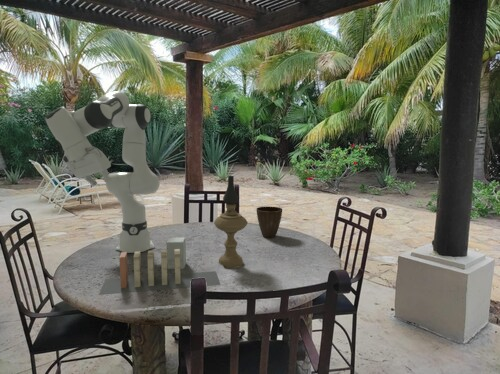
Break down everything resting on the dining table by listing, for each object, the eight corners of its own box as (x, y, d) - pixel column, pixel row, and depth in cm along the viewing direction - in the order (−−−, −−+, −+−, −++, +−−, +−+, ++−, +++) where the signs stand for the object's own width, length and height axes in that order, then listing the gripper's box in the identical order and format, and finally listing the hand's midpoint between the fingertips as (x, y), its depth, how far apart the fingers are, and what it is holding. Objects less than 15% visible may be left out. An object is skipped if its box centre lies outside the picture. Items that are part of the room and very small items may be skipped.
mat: (105, 281, 144) (105, 279, 144) (215, 273, 154) (215, 271, 154) (98, 296, 131) (98, 294, 131) (220, 286, 140) (220, 284, 140)
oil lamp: (217, 271, 156) (216, 178, 150) (211, 259, 170) (210, 174, 164) (251, 267, 160) (252, 177, 154) (242, 256, 174) (243, 173, 168)
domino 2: (136, 280, 143) (134, 251, 141) (141, 280, 143) (140, 251, 141) (134, 287, 137) (133, 256, 135) (140, 286, 137) (139, 256, 136)
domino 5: (175, 278, 146) (174, 249, 144) (180, 277, 146) (179, 248, 145) (175, 284, 140) (174, 254, 138) (180, 283, 141) (180, 253, 139)
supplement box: (186, 264, 164) (186, 237, 162) (184, 270, 156) (183, 242, 154) (170, 264, 163) (169, 237, 162) (166, 270, 156) (166, 242, 154)
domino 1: (122, 281, 142) (121, 252, 140) (128, 281, 142) (126, 252, 140) (120, 288, 136) (119, 257, 134) (126, 287, 136) (125, 257, 135)
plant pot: (251, 234, 213) (252, 207, 211) (274, 231, 220) (274, 205, 217) (263, 241, 200) (263, 212, 198) (286, 237, 206) (287, 210, 204)
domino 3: (149, 279, 144) (148, 250, 142) (154, 279, 144) (153, 250, 143) (148, 286, 138) (147, 255, 136) (153, 285, 139) (152, 255, 137)
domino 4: (162, 278, 145) (161, 250, 143) (167, 278, 145) (166, 249, 144) (162, 285, 139) (161, 254, 137) (167, 284, 140) (166, 254, 138)
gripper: (101, 141, 127) (123, 174, 132) (73, 152, 140) (94, 183, 145) (87, 149, 123) (110, 183, 128) (60, 160, 135) (81, 191, 140)
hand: (101, 183), depth 136 cm, fingers open, 8 cm apart
